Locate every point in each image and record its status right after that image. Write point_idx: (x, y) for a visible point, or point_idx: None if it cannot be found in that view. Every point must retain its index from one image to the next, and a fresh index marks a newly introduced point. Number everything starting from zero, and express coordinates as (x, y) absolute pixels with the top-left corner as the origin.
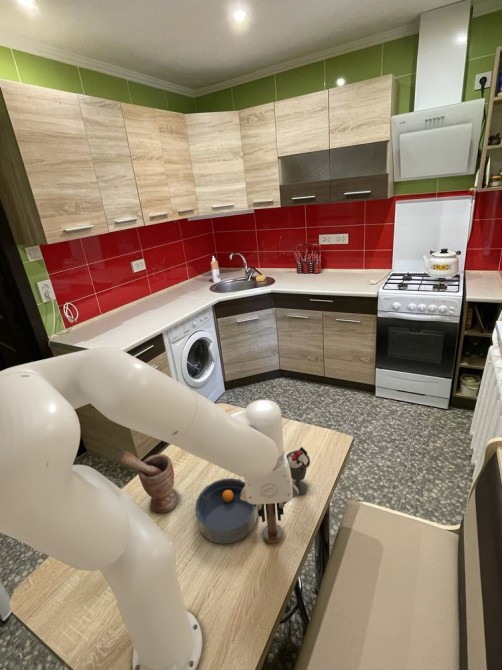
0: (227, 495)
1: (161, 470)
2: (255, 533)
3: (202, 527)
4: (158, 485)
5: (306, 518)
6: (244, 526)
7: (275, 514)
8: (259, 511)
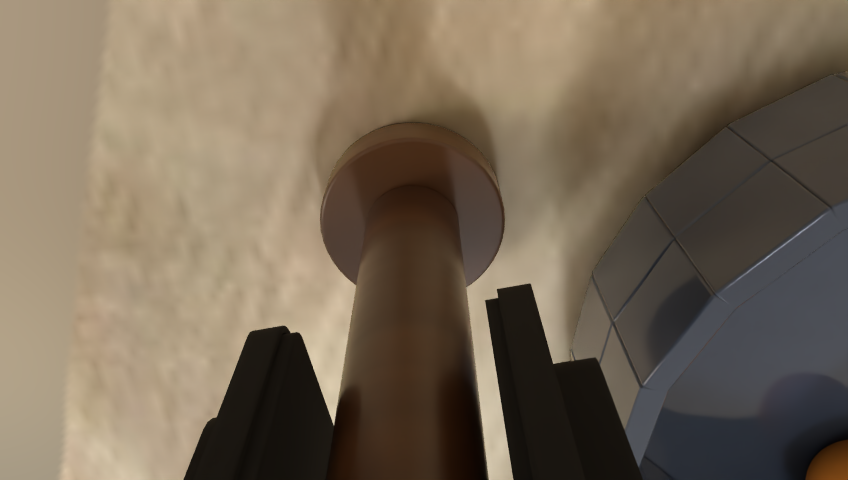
0: None
1: None
2: (579, 202)
3: None
4: None
5: (146, 372)
6: (739, 227)
7: (337, 407)
8: (603, 446)
